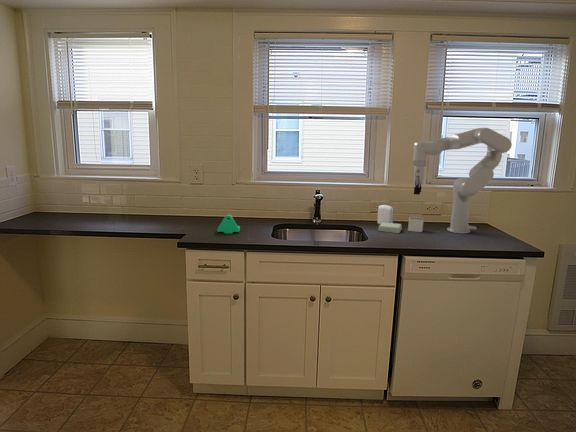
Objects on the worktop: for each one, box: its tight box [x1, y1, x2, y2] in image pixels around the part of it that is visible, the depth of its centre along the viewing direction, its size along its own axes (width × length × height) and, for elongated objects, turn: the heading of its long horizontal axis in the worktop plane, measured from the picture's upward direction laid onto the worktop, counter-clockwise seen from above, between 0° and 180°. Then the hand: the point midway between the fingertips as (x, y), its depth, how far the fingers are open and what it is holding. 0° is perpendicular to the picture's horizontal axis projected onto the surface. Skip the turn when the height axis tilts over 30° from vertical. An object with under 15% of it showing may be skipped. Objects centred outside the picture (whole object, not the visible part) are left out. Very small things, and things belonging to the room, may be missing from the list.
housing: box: [407, 215, 424, 233], centre depth 240 cm, size 8×5×8 cm, turn 69°
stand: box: [378, 222, 403, 234], centre depth 241 cm, size 12×12×3 cm
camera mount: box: [216, 214, 241, 234], centre depth 229 cm, size 12×8×10 cm, turn 92°
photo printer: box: [377, 204, 394, 225], centre depth 255 cm, size 10×4×12 cm, turn 39°
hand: (417, 193), depth 237 cm, fingers open, 9 cm apart
